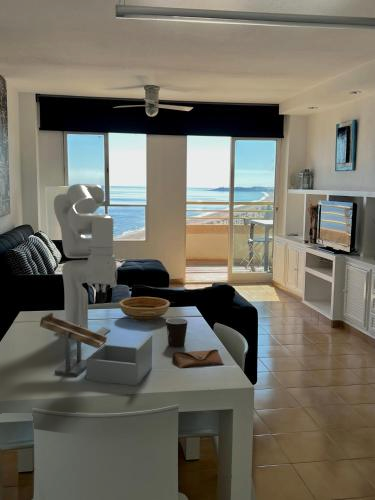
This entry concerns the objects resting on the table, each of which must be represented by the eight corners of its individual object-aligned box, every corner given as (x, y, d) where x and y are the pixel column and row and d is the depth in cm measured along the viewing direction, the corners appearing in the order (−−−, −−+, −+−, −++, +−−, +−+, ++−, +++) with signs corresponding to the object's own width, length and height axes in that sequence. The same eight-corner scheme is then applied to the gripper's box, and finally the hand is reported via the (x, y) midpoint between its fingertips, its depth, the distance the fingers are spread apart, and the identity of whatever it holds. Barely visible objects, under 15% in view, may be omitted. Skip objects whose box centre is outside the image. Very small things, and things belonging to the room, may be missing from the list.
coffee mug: (184, 349, 189) (185, 324, 188) (163, 347, 191) (163, 323, 190) (190, 340, 201) (191, 317, 199) (170, 338, 202) (170, 315, 201)
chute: (39, 326, 164) (41, 317, 164) (62, 313, 180) (64, 305, 180) (98, 348, 160) (100, 339, 160) (116, 334, 176) (118, 326, 176)
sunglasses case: (178, 368, 169) (176, 349, 171) (173, 372, 175) (171, 353, 178) (226, 364, 174) (223, 346, 177) (219, 368, 181) (217, 350, 183)
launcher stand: (54, 373, 162) (54, 332, 160) (70, 361, 174) (70, 323, 172) (76, 376, 160) (76, 335, 158) (91, 363, 172) (91, 325, 170)
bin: (86, 379, 158) (86, 344, 156) (104, 363, 173) (104, 330, 171) (137, 385, 154) (138, 349, 152) (151, 368, 169) (152, 335, 167)
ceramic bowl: (116, 311, 244) (116, 296, 243) (164, 310, 249) (164, 294, 248) (121, 328, 215) (121, 311, 214) (175, 326, 220) (175, 309, 219)
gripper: (77, 251, 167) (77, 303, 170) (118, 254, 164) (118, 306, 167) (86, 248, 174) (86, 298, 177) (126, 251, 171) (125, 301, 174)
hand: (101, 302), depth 172 cm, fingers closed
